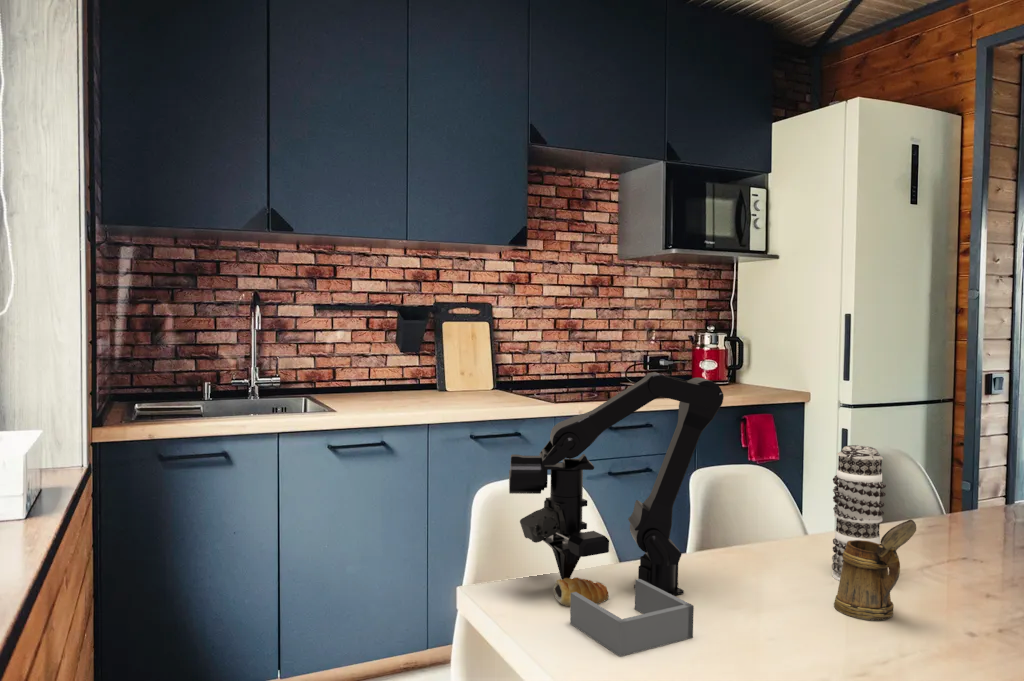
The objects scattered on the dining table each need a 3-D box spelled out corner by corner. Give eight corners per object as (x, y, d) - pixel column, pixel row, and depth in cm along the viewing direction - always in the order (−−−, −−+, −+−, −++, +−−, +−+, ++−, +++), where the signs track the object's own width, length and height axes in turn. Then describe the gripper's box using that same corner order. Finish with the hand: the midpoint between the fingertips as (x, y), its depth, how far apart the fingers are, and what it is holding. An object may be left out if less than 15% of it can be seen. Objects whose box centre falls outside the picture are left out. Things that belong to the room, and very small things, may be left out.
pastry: (600, 591, 137) (600, 570, 137) (614, 606, 131) (615, 584, 130) (550, 595, 135) (550, 574, 135) (562, 610, 128) (562, 588, 128)
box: (639, 607, 129) (639, 578, 129) (692, 637, 118) (693, 605, 118) (570, 623, 122) (570, 592, 122) (619, 656, 111) (620, 622, 111)
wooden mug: (885, 635, 120) (890, 522, 119) (822, 603, 132) (826, 500, 131) (928, 628, 123) (932, 517, 122) (862, 597, 135) (866, 497, 134)
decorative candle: (834, 584, 142) (838, 450, 141) (825, 567, 151) (830, 442, 150) (887, 589, 140) (892, 453, 138) (876, 572, 149) (880, 444, 147)
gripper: (501, 487, 140) (500, 571, 141) (555, 511, 124) (554, 606, 124) (553, 481, 145) (552, 561, 146) (611, 503, 129) (610, 594, 130)
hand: (565, 580), depth 136 cm, fingers closed
